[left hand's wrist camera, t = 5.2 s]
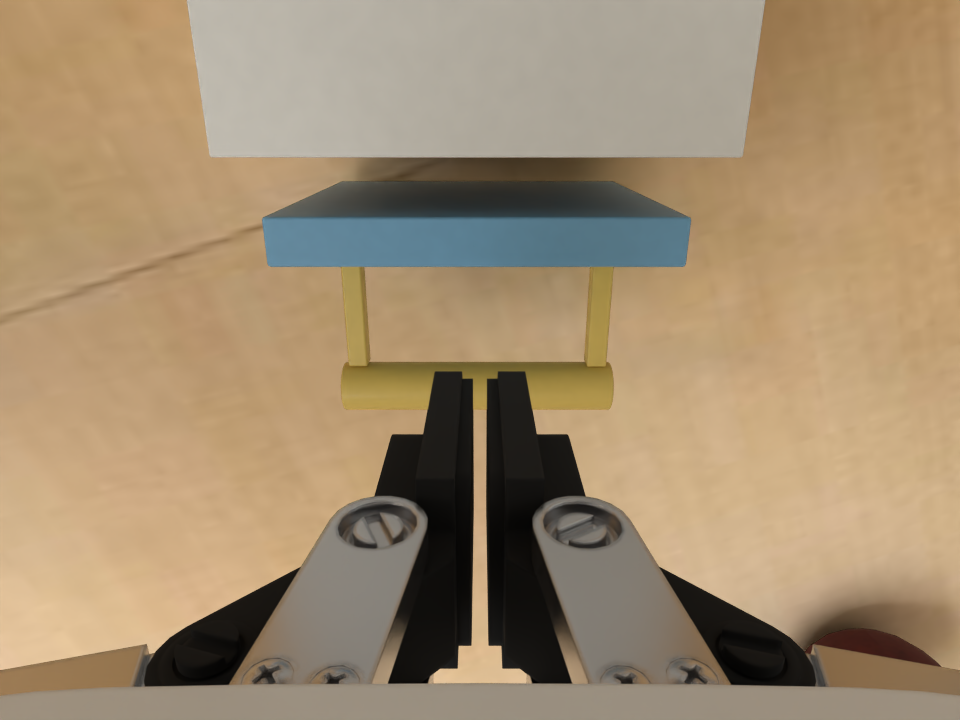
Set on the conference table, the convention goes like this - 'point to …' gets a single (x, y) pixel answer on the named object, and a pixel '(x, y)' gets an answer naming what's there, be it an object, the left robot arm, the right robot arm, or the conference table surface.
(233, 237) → the conference table surface
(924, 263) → the conference table surface
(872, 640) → the potato
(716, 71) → the cabinet
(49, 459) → the conference table surface
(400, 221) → the drawer
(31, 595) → the conference table surface
